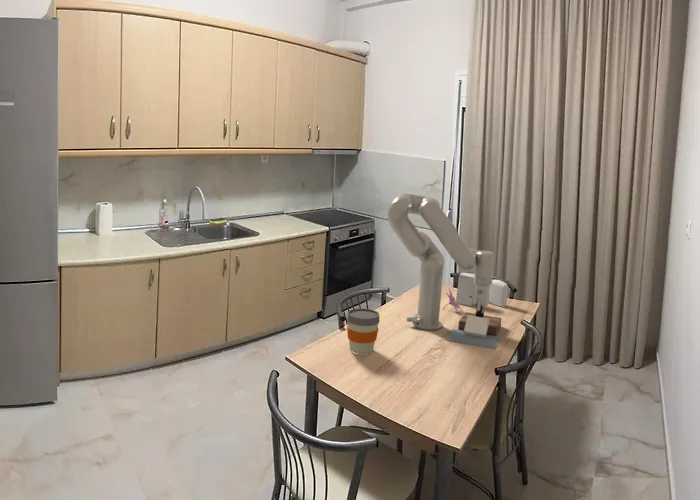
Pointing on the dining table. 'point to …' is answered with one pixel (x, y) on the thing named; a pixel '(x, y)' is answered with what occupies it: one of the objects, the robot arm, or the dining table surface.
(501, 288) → the photo printer
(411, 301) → the dining table surface
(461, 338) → the mat
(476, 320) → the tile
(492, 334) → the block
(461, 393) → the dining table surface
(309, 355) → the dining table surface
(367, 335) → the reusable coffee cup
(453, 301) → the lily
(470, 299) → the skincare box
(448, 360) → the dining table surface
